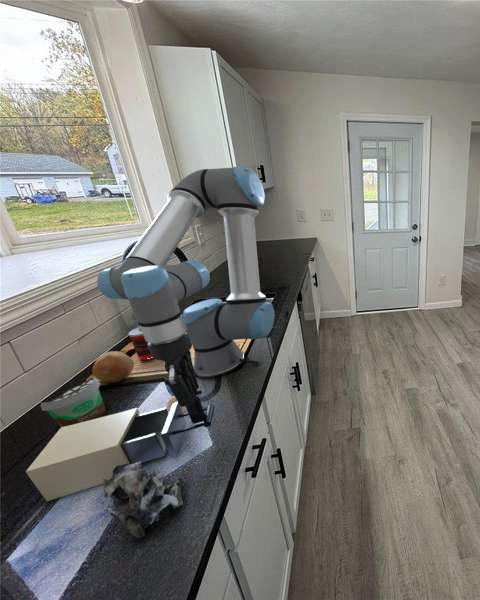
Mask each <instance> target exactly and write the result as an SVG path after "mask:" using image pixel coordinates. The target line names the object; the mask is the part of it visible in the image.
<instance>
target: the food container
mask: <svg viewBox="0 0 480 600" xmlns="http://www.w3.org/2000/svg"><path fill="white" fill-rule="evenodd" d="M100 386H101V382H100V380H99V379H98V378H96V377H95V376H92V375H89V379H87V380H86V381H84V382H83V383H81V384H78V385H76V386H74V387H72V388H69V389H67V390H66V391H64V392H63V393H61V394H60V395H58V396H57V397H56V398H54V399H52V400H50V401H48V402H46V401H45V402H40V409H41V411H43V412H45V411H46V412H47V413H48V414H49V415H50V416H51V417H52V419H53V420H54V421H55V422H56V423H57V425H59V427H60V428H62V427H66V426H70V425H74V424H77V423H81V422H85V421H89V420H93V419H97V418H101V417H103V416H104V415H105V413H106V406H105V404H104V400H103V398H102V395H101V392H100V389H99V388H100Z"/></svg>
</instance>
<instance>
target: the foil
mask: <svg viewBox="0 0 480 600" xmlns="http://www.w3.org/2000/svg"><path fill="white" fill-rule="evenodd" d="M141 461H142V460H141ZM141 461H140V462H138V461H137V463H135V462H132V463H134V464H132V463H128V464H124V465H120V466H116V468H115V469H114V470H113V476H112V478H111V479H110V480H105V479H103V480H104V483H103V484H102V486H103V491H104V494H103V501H102V500H101V499H99V498H98V496H97V497H96V500H99V501H100V502H101V503H102V504H103V506H104V508H105V511H106V513H107V515H108V517H112V518H114V517H115V518H116V519H117V520H119V521H120V522H121V524H122V525H123V527H124V528H125V529H126V530H127V531H128V533H129V534H131V535H133V536H134V537H136V538H137V539H143V538H144V537H145V536H146V529H147V528H148V527H149V526H150V525H152V524H153V523H155V522H158V521H159V520H160V518H159V516H160V512H162V511H163V509H164V508H166V507H167V506H169V505H170V506H171V507H172V509H174V510H175V509H180V508H181V507H182V506H183V504H184V500H183V499H182V498H183V497H182V486H183V479H182V477H179V478H178V479H177V480H176V481H175V482H173V483H172V484H168V485H165V484H164V475H161V476H160V477H159V478H158V476H157V472H156V470H155V469H153V471H152V473H150V472H149V471H148V469H147V467H143V468H142V463H141ZM129 464H131V465H129ZM126 465H127V466H126ZM157 471H158V470H157ZM158 473H160V471H158ZM146 490H147V493H146V494H145V495H144V492H145V491H146ZM109 497H112V498H114V499H116V500H118V501H121V500H125V499H129V501H128V503H126V504H123V505H121V506H118V507H115V508H113V509H112V508H111V506H110V505H109V504H108V506H107V503H106V501H107V499H108V498H109ZM153 498H155V499H158V501H156V502H153V503H151V502H152V499H153Z"/></svg>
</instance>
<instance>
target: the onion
mask: <svg viewBox="0 0 480 600" xmlns="http://www.w3.org/2000/svg"><path fill="white" fill-rule="evenodd" d="M134 366H135V362H134V360H133V359H132V358H131V357H130V356H129V355H127V354H126V353H124V352H121V351H117V350H115V351H113V350H110V351H107V352H105V353H103V354H102V355H101V356H99V357H98V358H97V359H96V360H95V362H94V364H93V366H92V370H91V371H92V374H93V376H94V377H95V378H96V379H97V380H98V381H101V382H104V383H107V384H108V383H111V384H112V383H118V382H119V383H120V382H121V381H123V380H125V379H126V378H127V377H128V376H129V375H130V374H131V373H132V371H133V369H134Z"/></svg>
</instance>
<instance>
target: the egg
mask: <svg viewBox="0 0 480 600" xmlns="http://www.w3.org/2000/svg"><path fill="white" fill-rule="evenodd" d="M176 402H178V401H177V399H176V398H175V396H174V395H173V396H171V397H170V398H169V399H168V401H167V404H166V408H167V410H168V413H169V412H170V409H171V407H172V404H173V403H176ZM180 407H181V406H180ZM181 410H182V412H183V413H185V411H187V409H186V406H184V407H181Z"/></svg>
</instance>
